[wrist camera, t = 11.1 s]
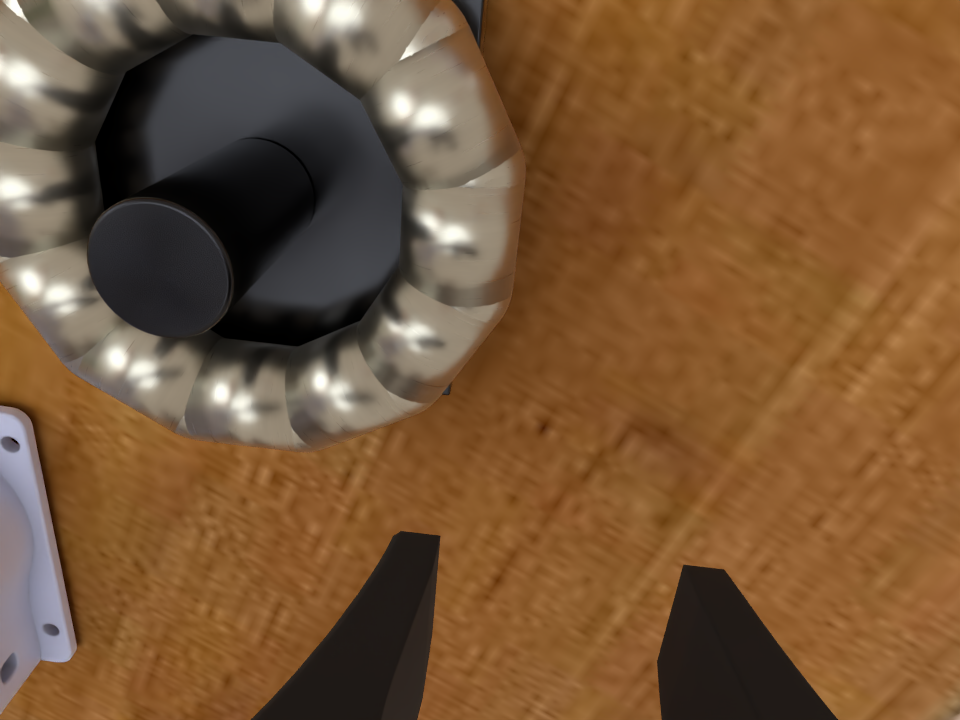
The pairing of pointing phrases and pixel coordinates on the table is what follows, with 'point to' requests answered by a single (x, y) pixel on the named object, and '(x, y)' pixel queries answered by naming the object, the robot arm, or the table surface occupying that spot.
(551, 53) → the table surface
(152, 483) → the table surface
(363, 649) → the robot arm
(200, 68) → the tape post
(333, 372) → the segmented metal ring
